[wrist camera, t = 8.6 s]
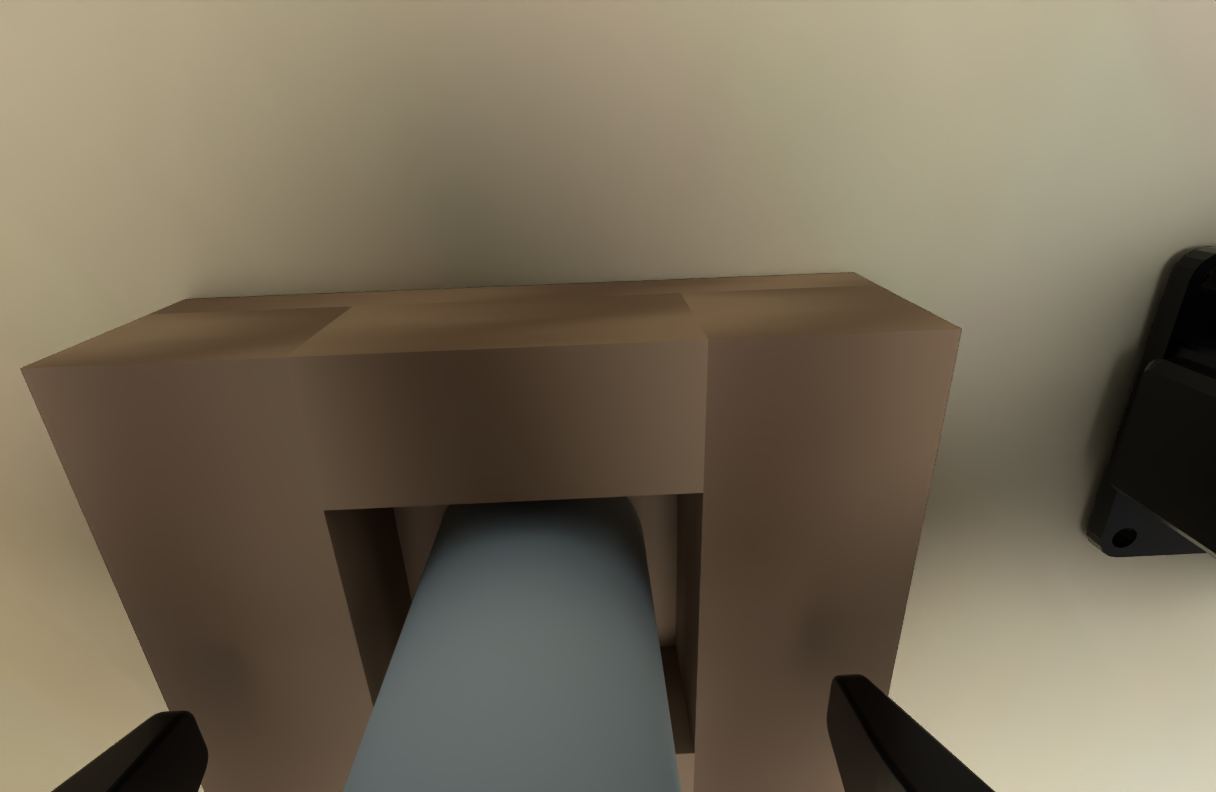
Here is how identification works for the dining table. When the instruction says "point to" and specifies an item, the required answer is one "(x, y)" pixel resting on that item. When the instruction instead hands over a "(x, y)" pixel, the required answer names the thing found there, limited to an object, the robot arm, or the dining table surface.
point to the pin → (526, 660)
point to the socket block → (508, 492)
